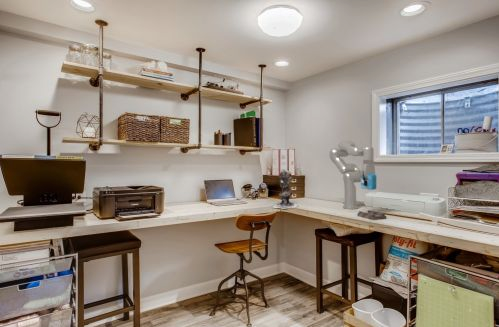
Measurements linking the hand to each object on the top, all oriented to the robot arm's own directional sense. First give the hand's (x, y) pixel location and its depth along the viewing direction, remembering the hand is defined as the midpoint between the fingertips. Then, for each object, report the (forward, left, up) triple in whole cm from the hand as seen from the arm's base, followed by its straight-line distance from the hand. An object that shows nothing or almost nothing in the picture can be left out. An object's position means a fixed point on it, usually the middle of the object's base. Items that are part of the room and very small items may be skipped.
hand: (368, 185), depth 230 cm
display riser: (+15, -11, -22) cm, 29 cm away
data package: (0, 0, -3) cm, 3 cm away
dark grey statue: (-54, -49, -22) cm, 76 cm away
